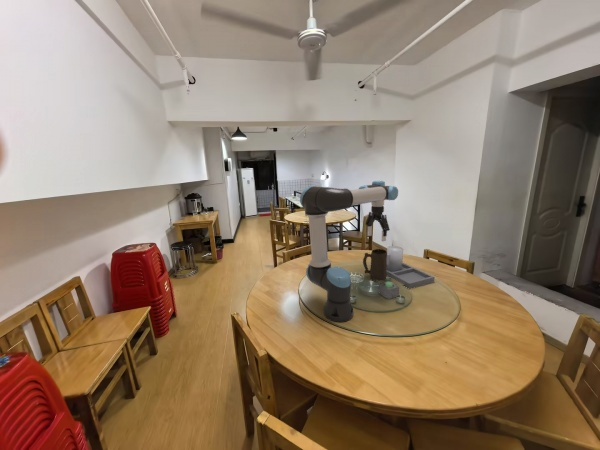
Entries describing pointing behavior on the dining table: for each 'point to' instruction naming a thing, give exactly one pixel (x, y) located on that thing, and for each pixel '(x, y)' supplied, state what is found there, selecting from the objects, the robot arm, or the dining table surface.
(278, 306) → the dining table surface
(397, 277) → the tray
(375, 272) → the beer stein
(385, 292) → the grey square hollow block
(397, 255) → the white piece
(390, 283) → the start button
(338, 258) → the dining table surface
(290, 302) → the dining table surface
